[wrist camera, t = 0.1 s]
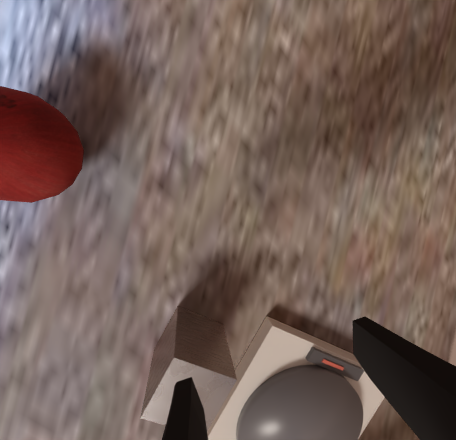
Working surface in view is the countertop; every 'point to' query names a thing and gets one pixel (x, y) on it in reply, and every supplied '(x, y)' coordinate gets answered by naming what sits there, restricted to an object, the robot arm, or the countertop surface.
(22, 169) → the onion
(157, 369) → the block
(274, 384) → the kitchen scale
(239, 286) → the countertop surface
